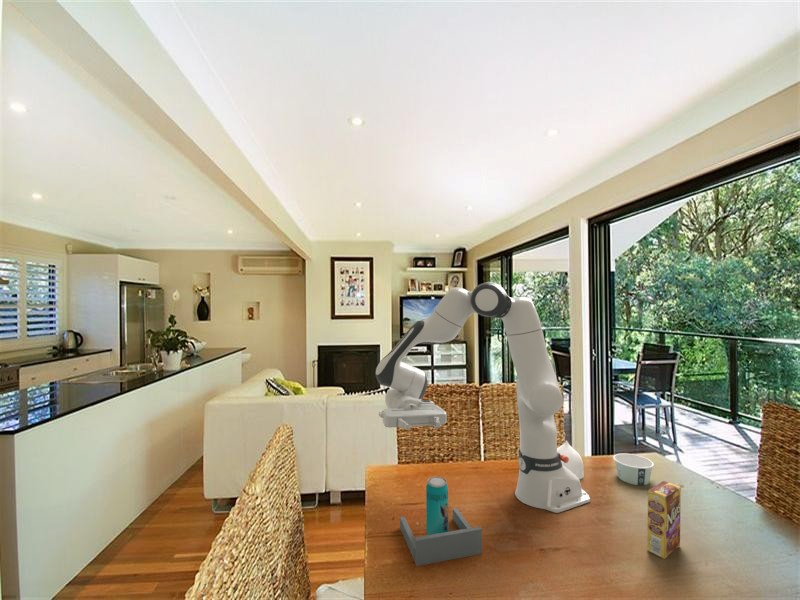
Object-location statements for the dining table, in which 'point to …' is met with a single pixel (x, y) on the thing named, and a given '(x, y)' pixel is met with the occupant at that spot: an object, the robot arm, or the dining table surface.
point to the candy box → (663, 519)
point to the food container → (633, 468)
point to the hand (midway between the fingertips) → (423, 426)
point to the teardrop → (572, 460)
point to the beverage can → (437, 505)
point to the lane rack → (444, 542)
